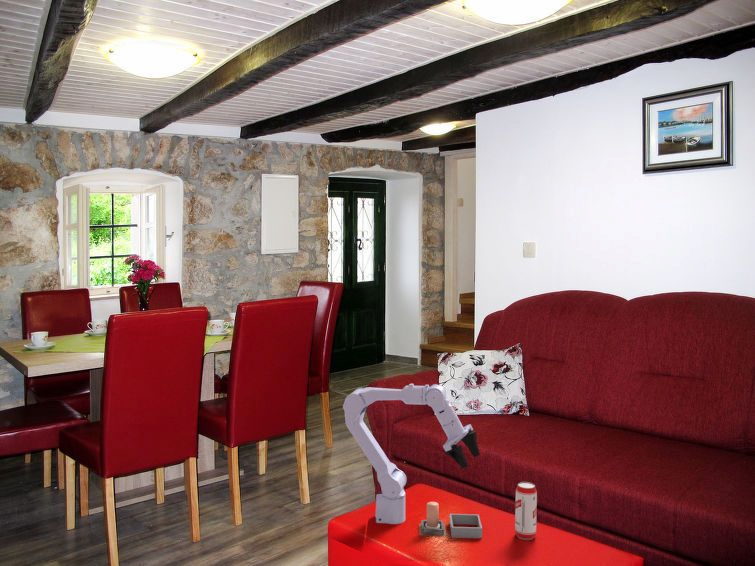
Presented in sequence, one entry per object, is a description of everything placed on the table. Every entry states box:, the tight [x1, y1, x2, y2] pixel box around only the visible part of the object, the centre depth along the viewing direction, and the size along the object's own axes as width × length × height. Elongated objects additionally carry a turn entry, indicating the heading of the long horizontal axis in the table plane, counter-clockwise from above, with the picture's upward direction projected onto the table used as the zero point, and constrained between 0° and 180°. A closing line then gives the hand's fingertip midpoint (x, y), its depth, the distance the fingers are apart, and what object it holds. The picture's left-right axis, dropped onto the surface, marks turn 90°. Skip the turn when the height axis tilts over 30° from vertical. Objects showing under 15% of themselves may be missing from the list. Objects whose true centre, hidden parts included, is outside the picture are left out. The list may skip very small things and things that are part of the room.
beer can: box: [514, 481, 538, 541], centre depth 202 cm, size 6×6×16 cm
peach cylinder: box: [425, 501, 440, 529], centre depth 204 cm, size 4×4×8 cm
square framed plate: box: [418, 519, 447, 537], centre depth 204 cm, size 8×8×2 cm
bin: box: [449, 513, 483, 539], centre depth 204 cm, size 9×10×4 cm
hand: (471, 461), depth 204 cm, fingers open, 7 cm apart
